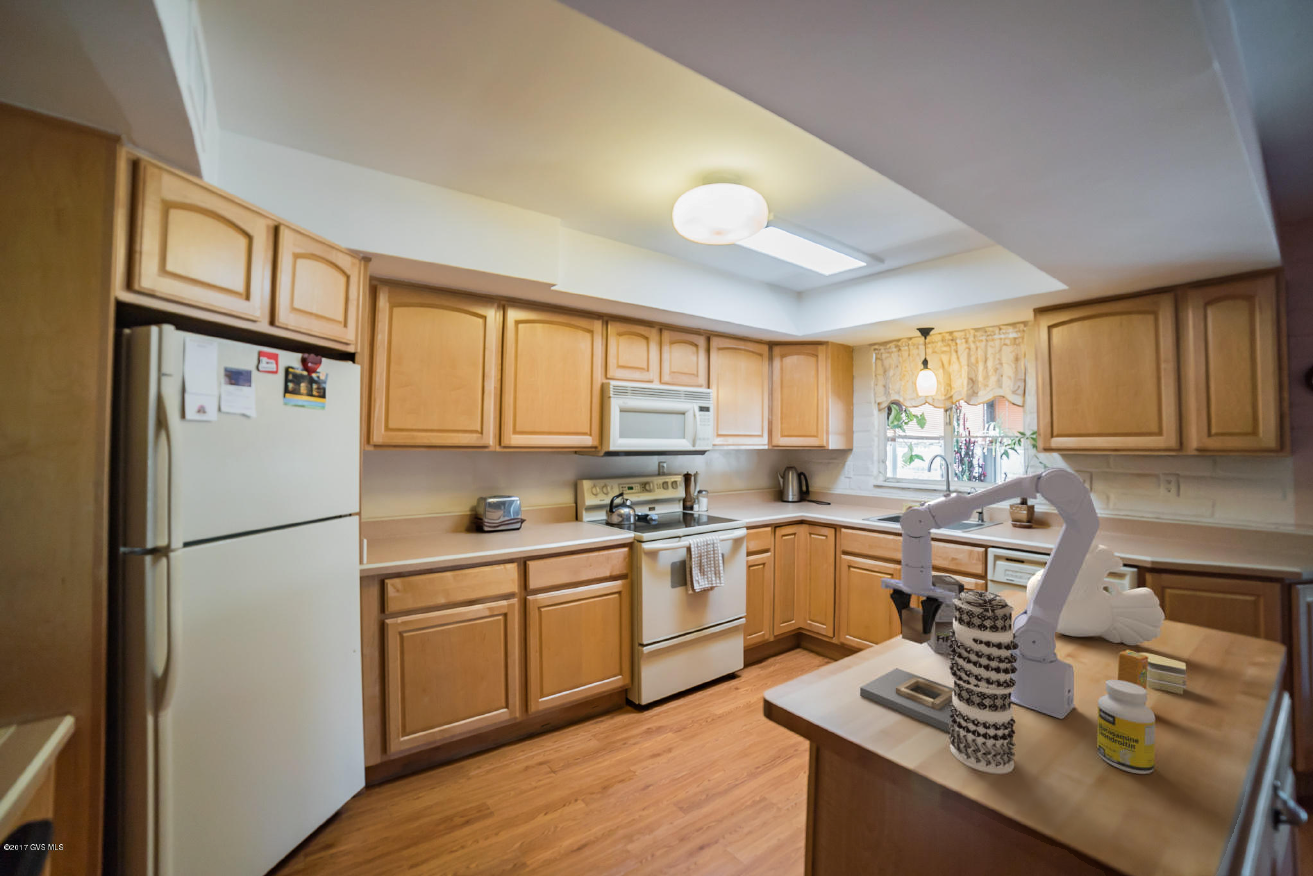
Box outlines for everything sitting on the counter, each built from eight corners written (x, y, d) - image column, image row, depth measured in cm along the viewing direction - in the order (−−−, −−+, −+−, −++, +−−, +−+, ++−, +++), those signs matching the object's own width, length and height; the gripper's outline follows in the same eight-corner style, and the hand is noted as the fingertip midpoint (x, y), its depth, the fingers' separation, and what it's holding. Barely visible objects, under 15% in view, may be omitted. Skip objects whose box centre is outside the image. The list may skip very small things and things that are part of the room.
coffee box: (965, 655, 119) (965, 584, 119) (934, 653, 120) (934, 583, 120) (950, 640, 128) (951, 574, 128) (922, 638, 129) (923, 573, 129)
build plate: (994, 711, 94) (994, 697, 94) (961, 738, 85) (961, 722, 85) (896, 675, 108) (896, 663, 108) (860, 695, 100) (860, 682, 100)
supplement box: (1139, 714, 94) (1140, 658, 94) (1116, 705, 97) (1116, 651, 97) (1148, 710, 95) (1148, 655, 95) (1124, 701, 98) (1124, 648, 98)
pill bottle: (1086, 750, 82) (1086, 677, 82) (1123, 749, 83) (1124, 676, 83) (1126, 777, 76) (1127, 697, 76) (1167, 775, 76) (1167, 696, 76)
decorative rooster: (1004, 599, 139) (1065, 538, 125) (1032, 581, 147) (1093, 521, 132) (1100, 683, 124) (1183, 624, 109) (1126, 657, 132) (1207, 599, 117)
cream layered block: (1195, 688, 105) (1195, 661, 105) (1197, 704, 98) (1198, 675, 98) (1128, 672, 112) (1128, 647, 112) (1126, 686, 105) (1126, 659, 105)
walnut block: (930, 639, 109) (930, 611, 109) (921, 644, 106) (921, 614, 106) (911, 634, 112) (911, 606, 112) (901, 638, 109) (902, 609, 109)
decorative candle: (1028, 762, 79) (1030, 597, 79) (999, 783, 74) (1000, 607, 74) (966, 733, 87) (967, 583, 87) (935, 751, 82) (937, 591, 82)
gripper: (873, 561, 112) (873, 624, 112) (944, 575, 101) (943, 645, 101) (890, 556, 117) (889, 617, 117) (959, 569, 105) (959, 636, 105)
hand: (916, 629), depth 109 cm, fingers closed on walnut block, 4 cm apart
